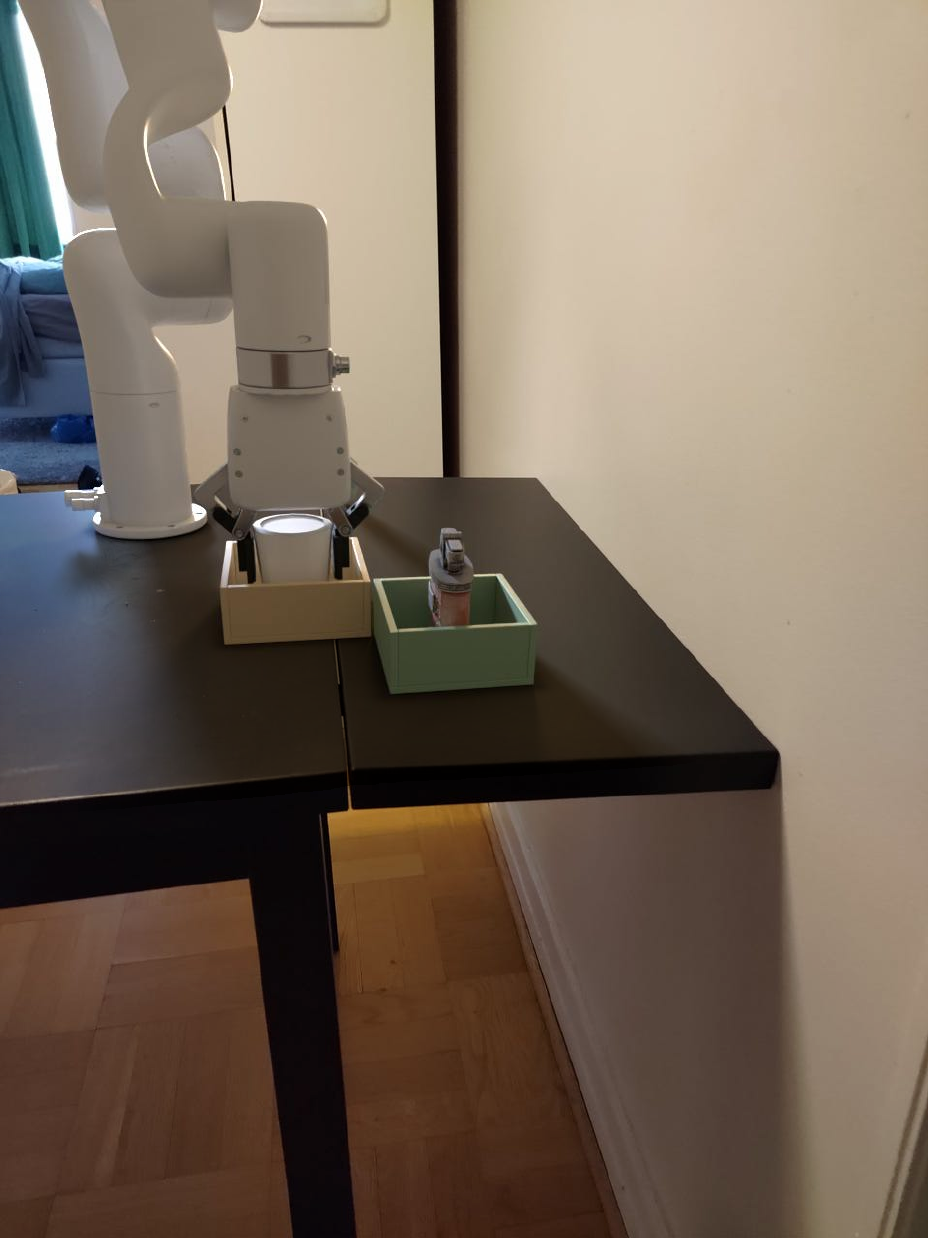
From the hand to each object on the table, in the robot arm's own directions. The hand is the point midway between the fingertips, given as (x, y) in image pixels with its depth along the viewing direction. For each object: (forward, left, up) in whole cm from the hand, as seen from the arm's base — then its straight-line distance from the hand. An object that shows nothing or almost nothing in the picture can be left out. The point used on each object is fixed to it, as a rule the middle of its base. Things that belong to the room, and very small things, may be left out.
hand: (295, 575), depth 76 cm
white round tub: (0, 0, -2) cm, 2 cm away
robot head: (+7, +36, -4) cm, 37 cm away
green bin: (+12, -11, -4) cm, 17 cm away
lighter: (+12, -11, -3) cm, 16 cm away
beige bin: (0, 0, -4) cm, 4 cm away
